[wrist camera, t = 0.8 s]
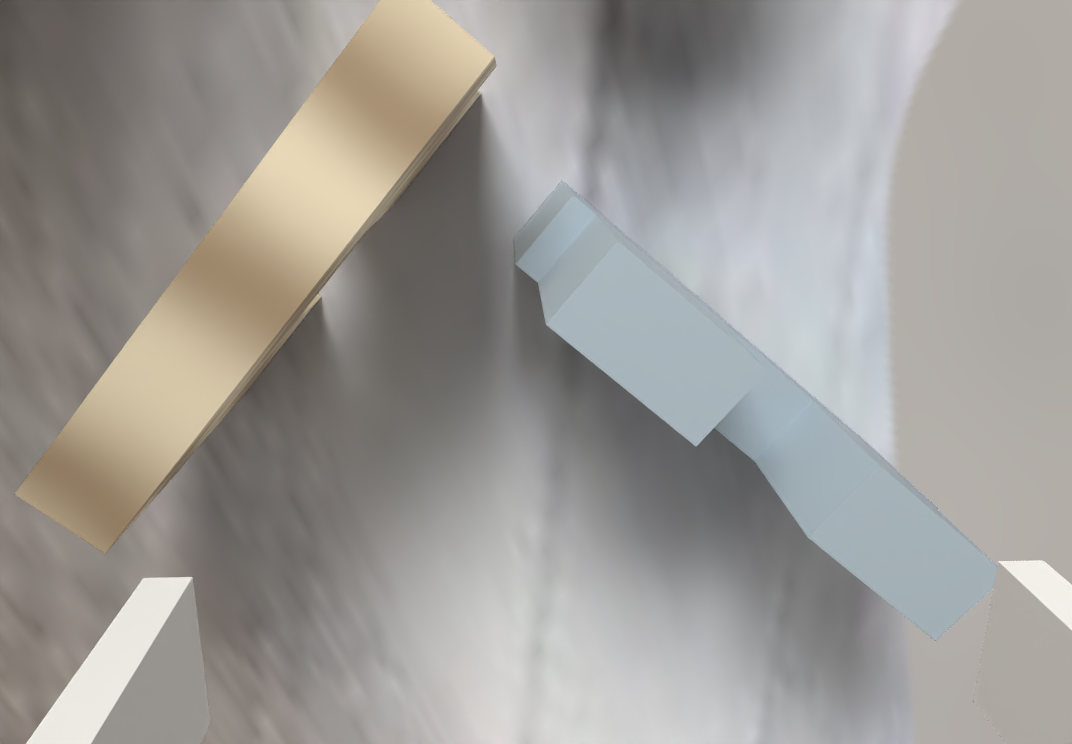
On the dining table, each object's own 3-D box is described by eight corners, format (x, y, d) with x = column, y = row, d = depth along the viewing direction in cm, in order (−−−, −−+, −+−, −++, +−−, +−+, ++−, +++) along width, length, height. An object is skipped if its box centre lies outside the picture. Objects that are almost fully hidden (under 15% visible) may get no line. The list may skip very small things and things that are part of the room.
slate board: (513, 238, 36) (517, 302, 25) (562, 180, 36) (589, 217, 24) (826, 498, 40) (956, 658, 28) (874, 449, 39) (1027, 593, 28)
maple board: (226, 417, 38) (105, 553, 26) (165, 373, 37) (14, 493, 26) (497, 72, 34) (494, 56, 23) (435, 18, 34) (400, -27, 22)
